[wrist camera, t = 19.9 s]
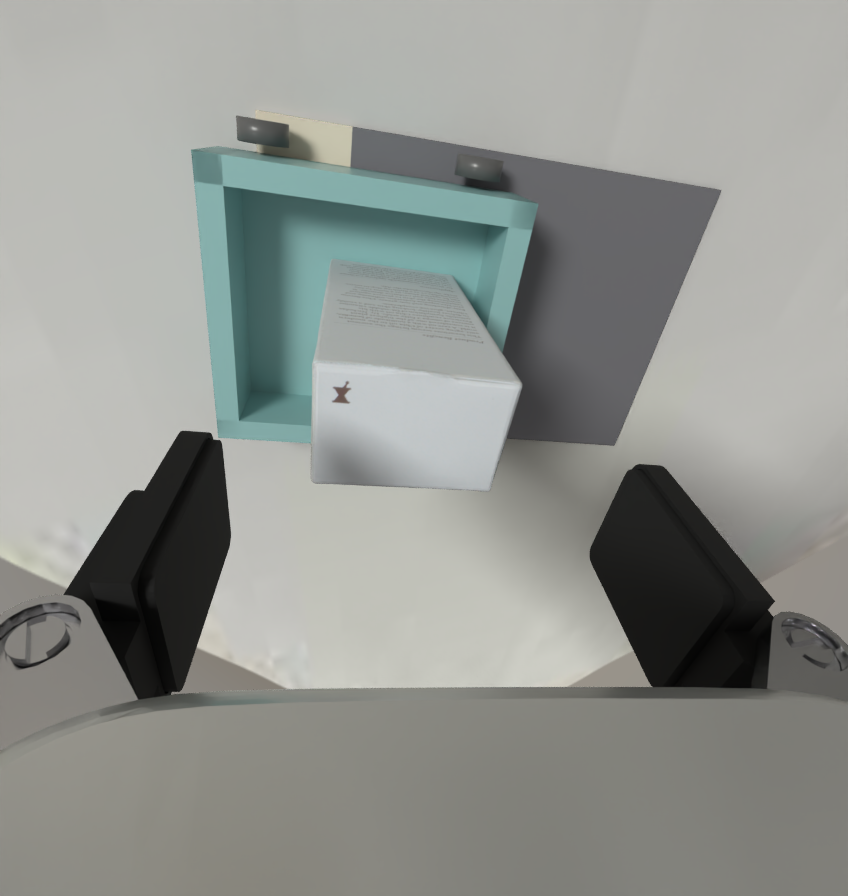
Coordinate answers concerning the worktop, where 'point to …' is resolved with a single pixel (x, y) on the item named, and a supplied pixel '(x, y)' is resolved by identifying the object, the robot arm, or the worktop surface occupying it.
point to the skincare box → (406, 383)
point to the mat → (558, 269)
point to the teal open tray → (309, 255)
